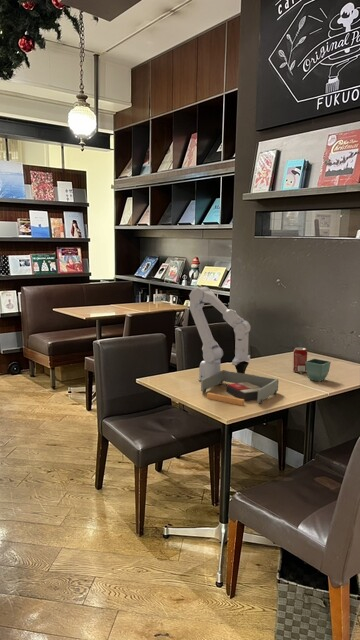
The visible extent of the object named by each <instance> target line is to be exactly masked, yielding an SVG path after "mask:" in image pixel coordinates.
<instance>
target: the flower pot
mask: <svg viewBox="0 0 360 640" xmlns="http://www.w3.org/2000/svg"><path fill="white" fill-rule="evenodd" d="M330 367H331V361H330V360H323V359H318V358H311V359H309V360H307V361H306V372H305V373H306V375H307V377H308V378H309V380H311V381H315V382H323V380H325V379H326V378H327V376H328V375H329V372H330Z"/></svg>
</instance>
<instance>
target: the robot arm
mask: <svg viewBox="0 0 360 640" xmlns="http://www.w3.org/2000/svg"><path fill="white" fill-rule="evenodd" d="M188 296H189V311H190V314H191V316H192V318H193V320H194V321H193V322H194V324H195V326H196V329H197V331H198V335H199V337H200V340H201V342H202V347H201V350H202V358H203V360H202V361H201V362H200V364H199V366H198V367H199V370H198V371H199V373H198V374H199V375H198V381H200V382H201V380H202V379H204V378H206V377H209V376H211V375H213V374H215V373H218V372H220V371H221V365H222V363H221V361H222V360H221V359H222V357H223V356H224V351H223V349H222V348H221V347H220V345H219V344H218V342H217V341H216V340H215V338H214V337H213V336H214V335H212V330H211V329H210V327H209V323H208V320H207V318H206V316H205V313H204V311H203V308H204V305H205V303H206V304H210V305H211V306H212V307H214V308H215V309H216V310H217V311H219V312H220V313H221V314H222V319H223V320H224V321H225V322H227V324H228V325H229V326H230V327H232V328H233V332H234V335H235V346H234V347H235V349H234V355H235V356H234V358H233V359H232V361H231V366H234V368H235V370H236V372H238V373H244V374H246V371H247V368H248V366H249V363H250V361H251V354H249V332H250V331H251V329H252V328H251V327H252V325H251V324H250V323H249V321H248V320H245V319H244V318H243V317H241V316H240V315H238V314H237V311H236V310H233V309H232V308H231V309H229V308H228V307H227V306H226V305H225V304H224V303H223V302H222V301H221V300H220V298H218V296H216V294H215V292H214V291H213V290H211V289H210V288H209V287H208V286H201V287H194V288H192V289H191V291H190V293H189V294H188Z"/></svg>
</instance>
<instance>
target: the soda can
mask: <svg viewBox="0 0 360 640" xmlns="http://www.w3.org/2000/svg"><path fill="white" fill-rule="evenodd" d="M292 356H293V357H292V371H293V372H294V373H297V374H303V373H307V372H306V361H308V351H307V348H306V347H301V346H299V347H298V346H297V347H295V348H294V350H293V355H292Z"/></svg>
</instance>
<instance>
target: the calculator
mask: <svg viewBox="0 0 360 640" xmlns="http://www.w3.org/2000/svg"><path fill="white" fill-rule="evenodd" d="M259 389H261V388H260V387H259V386H256V385H253V384H251V383H248V382H244V383H238V384H237V383H229V384H227V385H226V392H227V393H228V394H231V395H232V396H234V397H235V398H239V399H244V402H249V401H257V400H258V390H259Z"/></svg>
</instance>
